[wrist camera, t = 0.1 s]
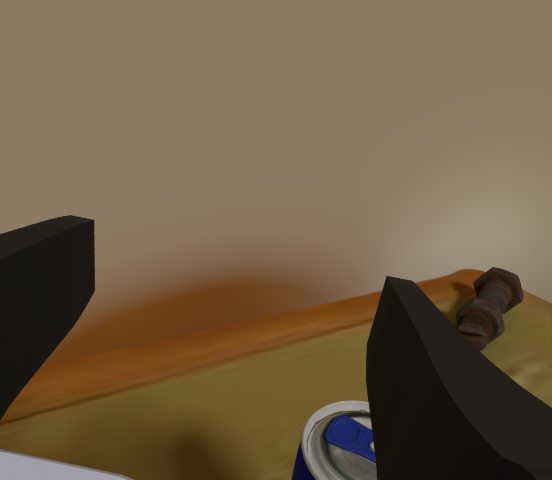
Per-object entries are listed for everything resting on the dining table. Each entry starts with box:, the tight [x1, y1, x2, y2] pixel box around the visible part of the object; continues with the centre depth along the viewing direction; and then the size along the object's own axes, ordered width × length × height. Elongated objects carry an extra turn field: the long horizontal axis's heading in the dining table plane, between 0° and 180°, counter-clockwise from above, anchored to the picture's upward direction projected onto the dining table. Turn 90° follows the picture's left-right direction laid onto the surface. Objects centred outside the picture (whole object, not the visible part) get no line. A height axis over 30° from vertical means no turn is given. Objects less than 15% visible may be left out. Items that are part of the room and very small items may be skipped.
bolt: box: [456, 267, 523, 351], centre depth 57 cm, size 6×5×15 cm
